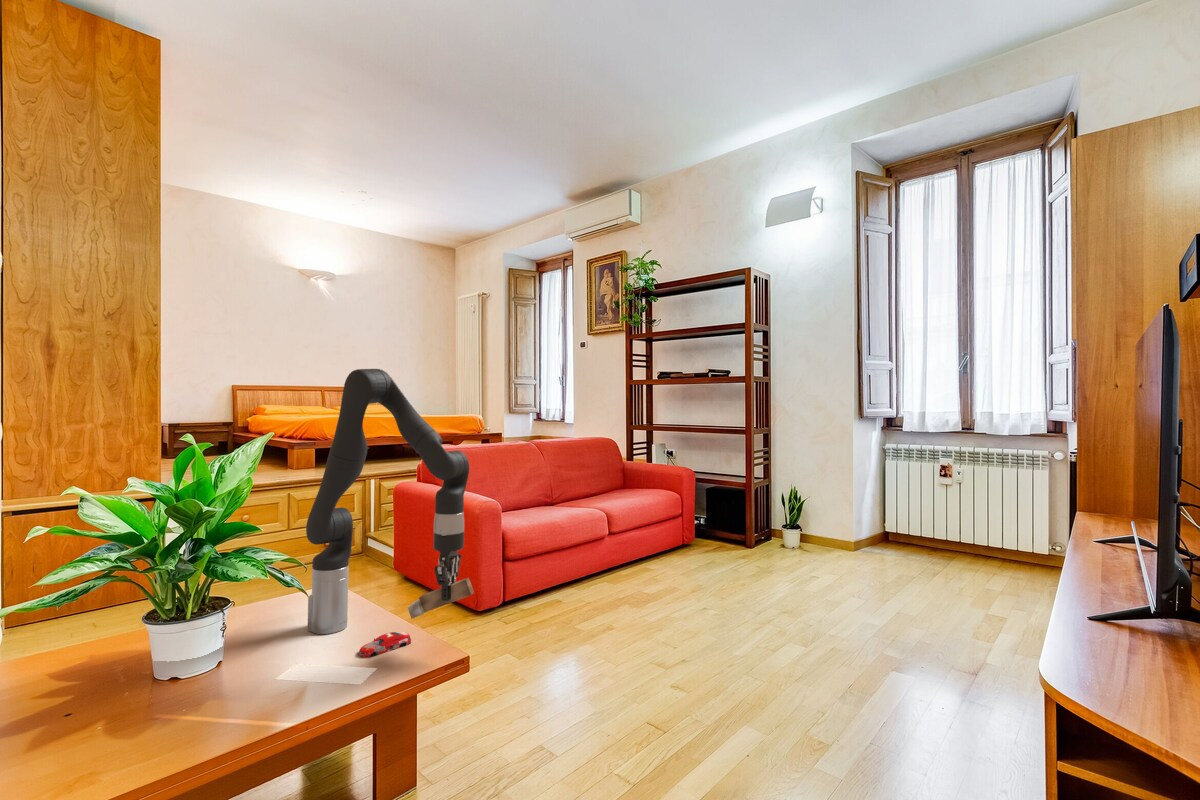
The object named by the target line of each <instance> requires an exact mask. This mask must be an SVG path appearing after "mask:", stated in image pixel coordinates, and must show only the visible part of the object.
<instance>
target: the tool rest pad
mask: <svg viewBox="0 0 1200 800" xmlns="http://www.w3.org/2000/svg"><path fill="white" fill-rule="evenodd" d="M377 669H378V668H377V667H362V666H343V665H329V664H307V663H295V664H294V665H293V666H291V667H290V668H289V669H287V670H286V671H285V672H283V673H281V674H280V675H279V676H278V677H276V678H275V679H274V680H275V681H277V680H278V681H290V682H292V681H293V682H310V683H311V682H312V683H324V684H343V685H359V686H360V685H362V684H363V683H364V682H365V681H366V680H367V679H368V678H370V676H371V675H372V674H373V673H374V672H375V671H376V670H377Z"/></svg>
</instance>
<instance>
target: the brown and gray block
mask: <svg viewBox="0 0 1200 800" xmlns="http://www.w3.org/2000/svg"><path fill="white" fill-rule="evenodd" d="M474 593H475V591H474V589H473V585H472V583H471V580H470V578H469V577H466V578H463V579H460V580H458V581H455V583H453V584H451V599H450V600H449V601H443V600H442V599H441V598H442V587H439V588H437V589H434V590H431V591H429V592H426V593H424V594H421V595H420V596H419V598H418V599H417V600H414V601H413V602H412V603H411V604H410V605H409V606H407V611H408V613H409V616H410V618H411V620H412V619H415V618H417V617H419V616H422V615H424V614H425V613H428V612H430V611H433V610H435V609H438V608H441V607H444V606H447V605H449V604H451V603H453V602H457V601H459V600H462V599H464V598H467V597H470V596H472V595H473V594H474Z"/></svg>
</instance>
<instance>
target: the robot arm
mask: <svg viewBox="0 0 1200 800" xmlns="http://www.w3.org/2000/svg"><path fill="white" fill-rule="evenodd" d="M377 403H378V404H379V405H381V406H382V407H384V408H385V409H387V410H388V412H390V413H391V415H392V416H393V418H394V420H395V423H396V427H397V430H398V431H399V433H400V435H401V437H402V439H404V440H405V442H406V443H407V444H408V445H409V446H410V447H412V448H413V450H414V451H415V452H416V453H417V454H419V457H420V458H421V460H422V462H423V463H424V465H425V467H426V468H427V469H428V471H429V473H430V474H431V475H432V476H433V477H435V478H436V479H438V480H441V481H443V482H442V486H441V487H440V489H438V490H437V491H436V493H435V501H434V503H435V504H434V505H435V506H434V518H433V545H432V546H433V548H432V549H434V550H435V551H436V552H439V557H438V561H437V563H438V565H435V567H434V574H435V577H436V581H437V586H441V588H442V598H441V599H442V600H443V601H449V600H450V599H451V584H453V583H455V582H457V578H458V577H459V573H460V565H461V560H462V554H461V553H459V551H460V550H462V549H463V548H464V547H465V516H464V515H465V513H464V510H465V509H464V507H465V506H464V505H465V504H464V501H465V499H464V498H465V497H464V494H465V492H466V488H467V483H468V481H469V479H468V478H469V474H470V462H469V459H468V456H467V455H466V454H465V453H464V452H462V451H460V450H452V451H451V450H450V451H449V450H448V451H447V450H446V449H445V448H444V447H443V446H442V445H443V439H442V437H441V435H440V434H439V433H438V432H437V431H436V430H435V429H434V428H433V427H432V426H431V425H430V424H429V422H427V421H426V420H425V419H424V418H423V417H422V415H420V413H418V412H417V410H416V409H415V407H413V405H412V403H410V401H409V400H408V399H407V397H406V396H405V395H404V393H403V392H402V391H401V389H400V388H399V386H398V384H397V383H396V382H395V381H394V379H393V378H392V377H391V375H390V374H389V373H388V372H387V371H385V370H383V369H380V368H357V369H354V370H352V371H351V372H350V373H349V374H348V375H347V377H346V378H345V382H344V383H343V389H342V396H341V403H340V409H339V414H338V420H337V424H336V428H335V431H334V436H333V438H332V439H333V440H332V443H331V446H330V449H329V453H328V456H327V460H326V464H325V467H324V472H323V476H322V479H321V482H320V485H319V488H318V491H317V494H316V496H315V499H314V502H313V504H312V507H311V509H310V512H309V514H308V517H307V521H306V527H305V532H306V533H305V534H306V539H307V540H308V541H309V542H310V543H311V544H312V545H316V546H317V545H324V544H328V545H327V546H326V547H325V549H323V550H322V551H320V552H319V553H318V554H316V555H315V556H314V557H313V559H312V563H311V564H312V567H311V569H312V570H311V571H312V572H311V578H312V579H311V594H310V595H308V597H307V604H308V605H307V629H306V630H307V632H311V633H314V634H317V635H327V634H328V635H329V634H334V633H338V632H340V631H343V630H344V629H346V628H347V627H348V618H349V617H348V612H349V611H348V610H349V609H348V608H349V607H348V606H349V605H348V603H349V566H350V564H349V563H350V562H349V561H350V558H351V555H352V545H353V533H354V521H353V516H352V513H351V511H350V510H349V509H348V508H346V507H341V506H340V507H336V506H337V504H338V502H339V501H340V499H341V497H342V496H344V494H345V493H346V492H347V491H348V490H349V488H351V487H352V485H353V484H354V483H355V482H356V480H358V478H359V477H360V475H361V474H362V471H363V468H364V465H365V461H366V458H367V455H368V443H367V439H366V435H365V432H364V427H363V426H364V425H363V424H364V419H365V416H366V415H365V414H366V411H367V409H368V406H369V404H377Z"/></svg>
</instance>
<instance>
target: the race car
mask: <svg viewBox="0 0 1200 800" xmlns="http://www.w3.org/2000/svg"><path fill="white" fill-rule="evenodd" d="M411 643H412V638H411V635H410V634H409V633H407V632H403V631H399V632H398V631H392V632H388V633H383V634H381V635H379V636H377V637H376V638H373V640H372V641H371V642H368V643H365V644H364V645H362V646H361V647H360V649H359V651H358V655H359V657H360V658H368V659H369V658H373V657H376V656H378V655H383V654H384V653H388V652H391V651H393V650H397V649H400V648H403V647H406V646H409V645H411Z"/></svg>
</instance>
